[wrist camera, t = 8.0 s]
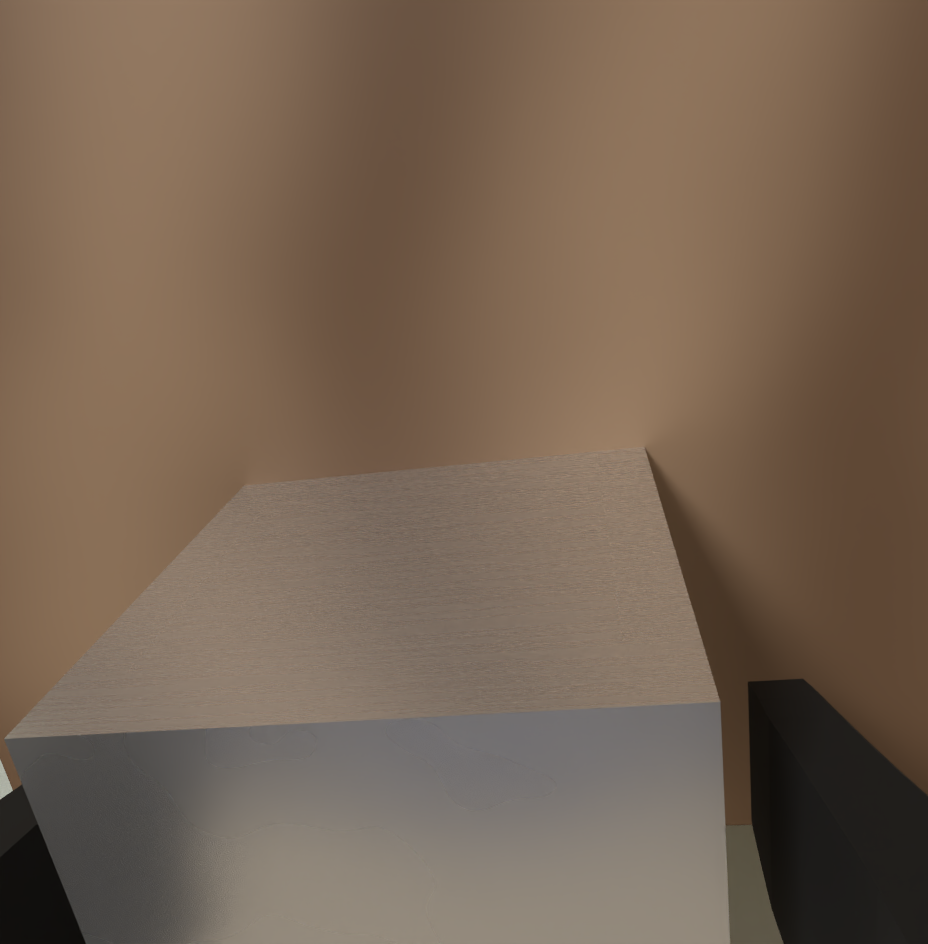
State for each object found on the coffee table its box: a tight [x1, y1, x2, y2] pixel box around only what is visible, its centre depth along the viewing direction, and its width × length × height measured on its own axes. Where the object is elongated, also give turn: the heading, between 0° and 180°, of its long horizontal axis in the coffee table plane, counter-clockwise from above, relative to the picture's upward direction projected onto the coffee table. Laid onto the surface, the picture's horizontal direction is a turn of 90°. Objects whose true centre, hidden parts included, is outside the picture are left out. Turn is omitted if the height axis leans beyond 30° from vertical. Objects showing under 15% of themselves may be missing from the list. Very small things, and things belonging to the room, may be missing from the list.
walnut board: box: [0, 0, 928, 825], centre depth 9 cm, size 16×14×5 cm
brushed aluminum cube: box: [4, 447, 730, 944], centre depth 9 cm, size 5×5×5 cm
